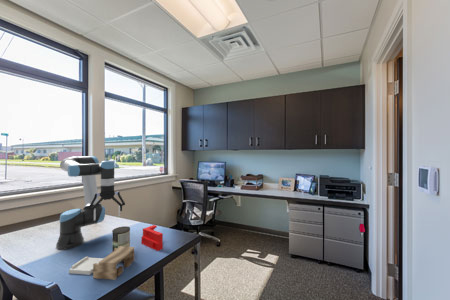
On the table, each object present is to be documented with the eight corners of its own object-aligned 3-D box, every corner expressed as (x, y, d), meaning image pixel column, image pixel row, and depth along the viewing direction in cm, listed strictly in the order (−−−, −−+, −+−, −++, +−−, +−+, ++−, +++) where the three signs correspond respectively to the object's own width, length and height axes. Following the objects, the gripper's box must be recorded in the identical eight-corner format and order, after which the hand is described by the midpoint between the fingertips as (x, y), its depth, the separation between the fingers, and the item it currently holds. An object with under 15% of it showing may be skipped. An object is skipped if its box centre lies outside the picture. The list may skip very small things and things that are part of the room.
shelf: (93, 278, 101) (93, 262, 101) (115, 259, 118) (115, 246, 118) (115, 279, 99) (115, 263, 99) (134, 261, 116) (134, 247, 116)
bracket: (141, 229, 138) (153, 224, 147) (141, 244, 138) (153, 238, 146) (157, 235, 128) (170, 230, 136) (157, 251, 128) (170, 245, 136)
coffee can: (109, 255, 123) (109, 232, 123) (116, 247, 133) (116, 226, 133) (126, 254, 124) (126, 232, 124) (132, 246, 134) (132, 226, 134)
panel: (68, 274, 105) (69, 267, 105) (86, 261, 117) (87, 255, 117) (89, 275, 103) (89, 268, 104) (105, 262, 115) (105, 256, 115)
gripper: (83, 187, 117) (82, 223, 117) (129, 184, 129) (129, 216, 129) (84, 185, 123) (84, 219, 123) (128, 182, 136) (128, 213, 136)
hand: (107, 218), depth 126 cm, fingers open, 13 cm apart
